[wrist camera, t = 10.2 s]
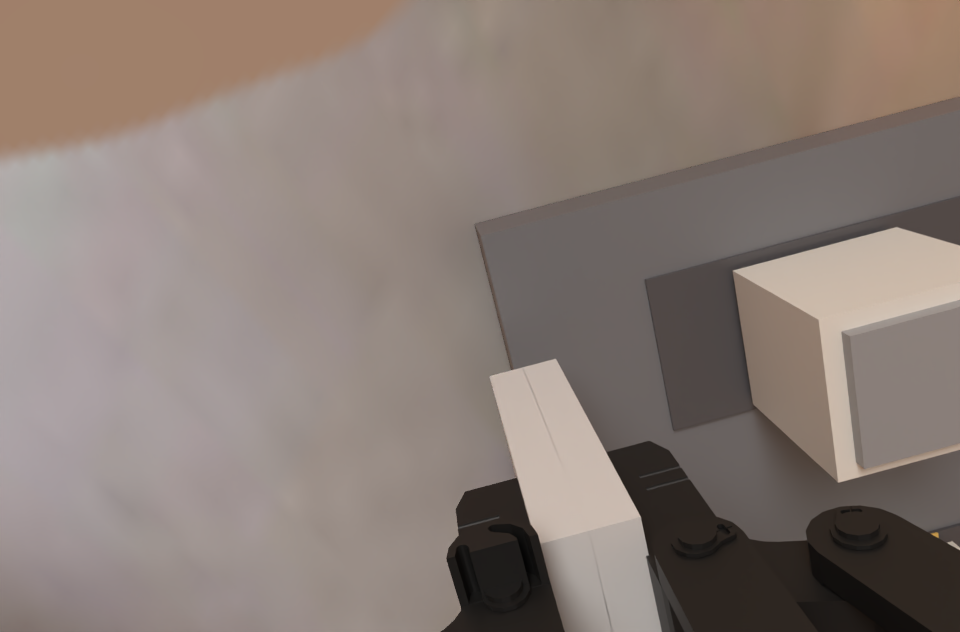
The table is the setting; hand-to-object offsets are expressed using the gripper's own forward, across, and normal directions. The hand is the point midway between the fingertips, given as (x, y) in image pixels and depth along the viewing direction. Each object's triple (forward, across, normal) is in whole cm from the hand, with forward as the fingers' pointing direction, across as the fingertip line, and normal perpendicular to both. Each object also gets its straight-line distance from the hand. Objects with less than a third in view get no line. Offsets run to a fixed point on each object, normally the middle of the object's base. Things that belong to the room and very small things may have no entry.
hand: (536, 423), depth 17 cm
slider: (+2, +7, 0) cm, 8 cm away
